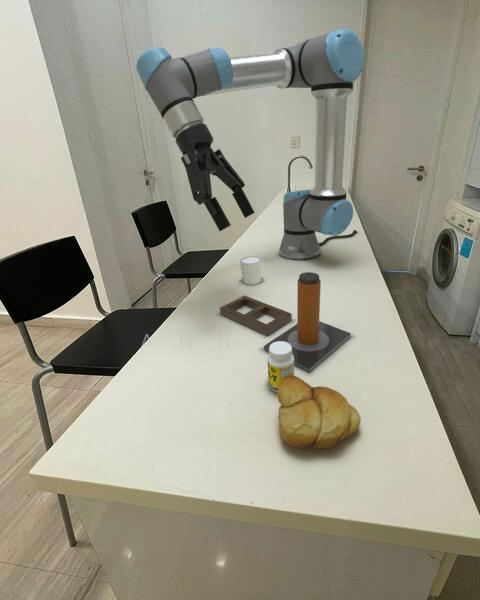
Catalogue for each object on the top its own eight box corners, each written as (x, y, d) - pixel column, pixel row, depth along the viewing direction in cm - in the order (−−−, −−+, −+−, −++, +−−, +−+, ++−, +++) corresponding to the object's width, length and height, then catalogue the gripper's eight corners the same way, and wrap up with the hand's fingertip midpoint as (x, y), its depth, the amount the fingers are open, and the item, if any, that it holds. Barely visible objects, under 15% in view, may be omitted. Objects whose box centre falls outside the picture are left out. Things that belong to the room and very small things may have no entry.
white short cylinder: (260, 286, 101) (259, 264, 98) (238, 284, 102) (236, 263, 99) (265, 277, 107) (264, 256, 104) (244, 276, 108) (243, 255, 105)
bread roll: (357, 411, 55) (361, 373, 51) (363, 463, 46) (368, 422, 43) (280, 405, 57) (279, 368, 53) (272, 454, 48) (270, 413, 44)
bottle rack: (245, 301, 92) (244, 295, 91) (291, 320, 82) (291, 313, 81) (220, 314, 86) (219, 307, 85) (267, 336, 76) (267, 328, 75)
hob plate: (307, 320, 82) (307, 316, 81) (350, 336, 74) (351, 332, 74) (263, 349, 71) (263, 345, 71) (309, 372, 64) (309, 368, 63)
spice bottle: (305, 331, 75) (306, 269, 68) (322, 338, 72) (325, 275, 66) (293, 340, 72) (292, 276, 65) (310, 347, 69) (312, 282, 63)
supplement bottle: (264, 380, 62) (262, 343, 59) (287, 373, 64) (286, 337, 60) (274, 396, 58) (273, 358, 55) (298, 388, 60) (298, 351, 56)
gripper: (205, 140, 83) (246, 217, 88) (139, 141, 62) (198, 242, 67) (228, 123, 79) (269, 204, 85) (166, 118, 58) (227, 227, 63)
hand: (238, 221), depth 76 cm, fingers open, 13 cm apart
